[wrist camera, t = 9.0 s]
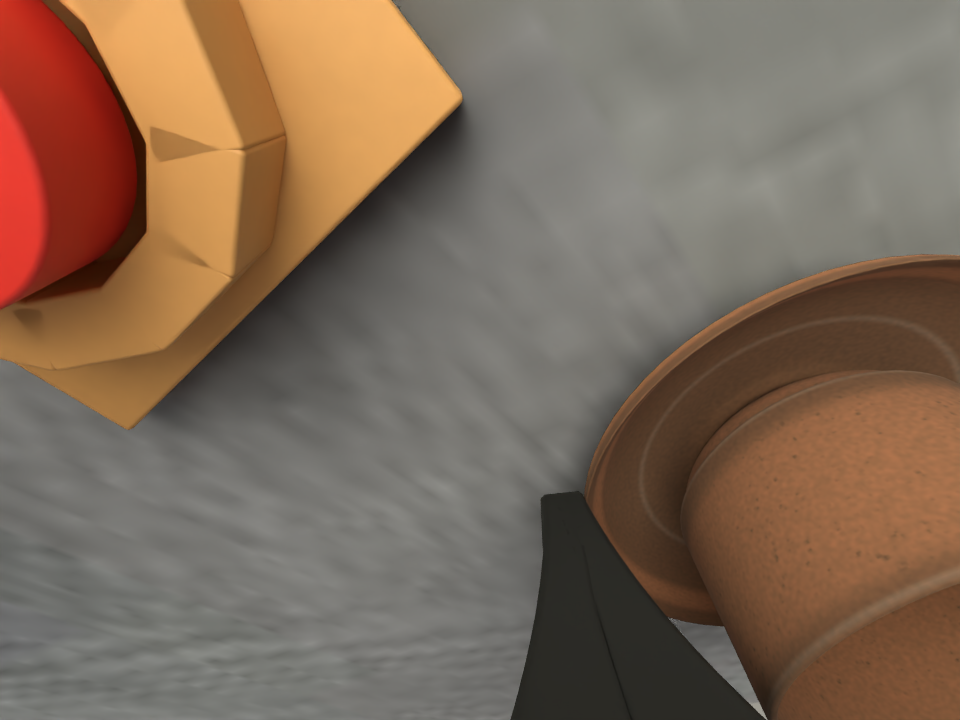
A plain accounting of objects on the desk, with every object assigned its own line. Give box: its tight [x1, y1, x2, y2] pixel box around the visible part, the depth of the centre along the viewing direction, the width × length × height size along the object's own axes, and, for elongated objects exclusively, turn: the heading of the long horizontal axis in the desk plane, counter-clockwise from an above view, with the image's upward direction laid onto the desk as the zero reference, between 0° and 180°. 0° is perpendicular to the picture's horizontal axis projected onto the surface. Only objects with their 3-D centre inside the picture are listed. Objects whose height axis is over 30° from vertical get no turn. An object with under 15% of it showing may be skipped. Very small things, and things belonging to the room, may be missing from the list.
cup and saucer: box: [584, 254, 960, 720], centre depth 11 cm, size 12×12×6 cm
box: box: [0, 0, 463, 430], centre depth 7 cm, size 10×8×3 cm
